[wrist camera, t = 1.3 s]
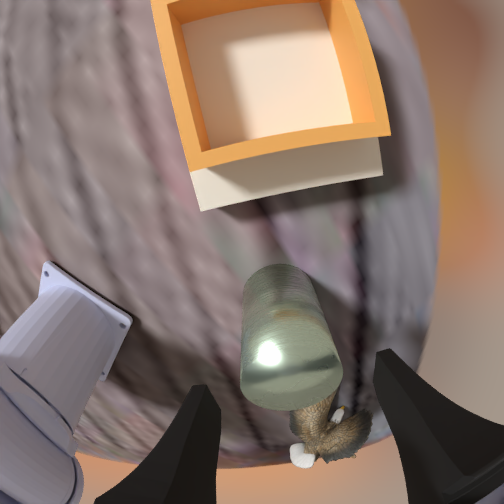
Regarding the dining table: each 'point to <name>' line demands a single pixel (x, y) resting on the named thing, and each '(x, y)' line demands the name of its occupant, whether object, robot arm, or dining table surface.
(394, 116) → the dining table surface
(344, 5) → the orange and cream box
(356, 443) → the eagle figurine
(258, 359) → the green can
